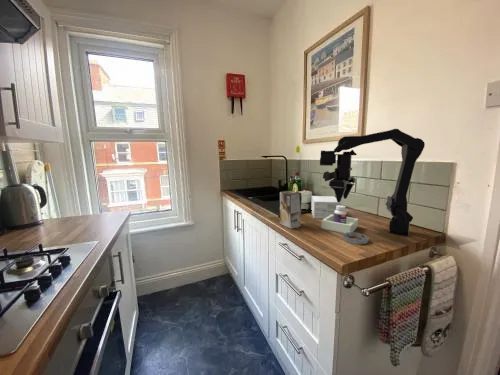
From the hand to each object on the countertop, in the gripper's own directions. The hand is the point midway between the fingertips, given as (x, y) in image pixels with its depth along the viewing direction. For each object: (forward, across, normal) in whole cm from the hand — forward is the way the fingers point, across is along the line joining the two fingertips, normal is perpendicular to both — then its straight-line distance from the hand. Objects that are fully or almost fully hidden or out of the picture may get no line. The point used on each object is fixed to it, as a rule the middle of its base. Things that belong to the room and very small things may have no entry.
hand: (342, 200), depth 99 cm
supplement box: (+13, -17, -14) cm, 26 cm away
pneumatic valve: (+13, -21, -28) cm, 37 cm away
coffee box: (+13, +11, -20) cm, 27 cm away
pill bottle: (+13, +1, 0) cm, 13 cm away
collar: (+13, +11, +9) cm, 20 cm away
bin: (+13, +1, 0) cm, 13 cm away
